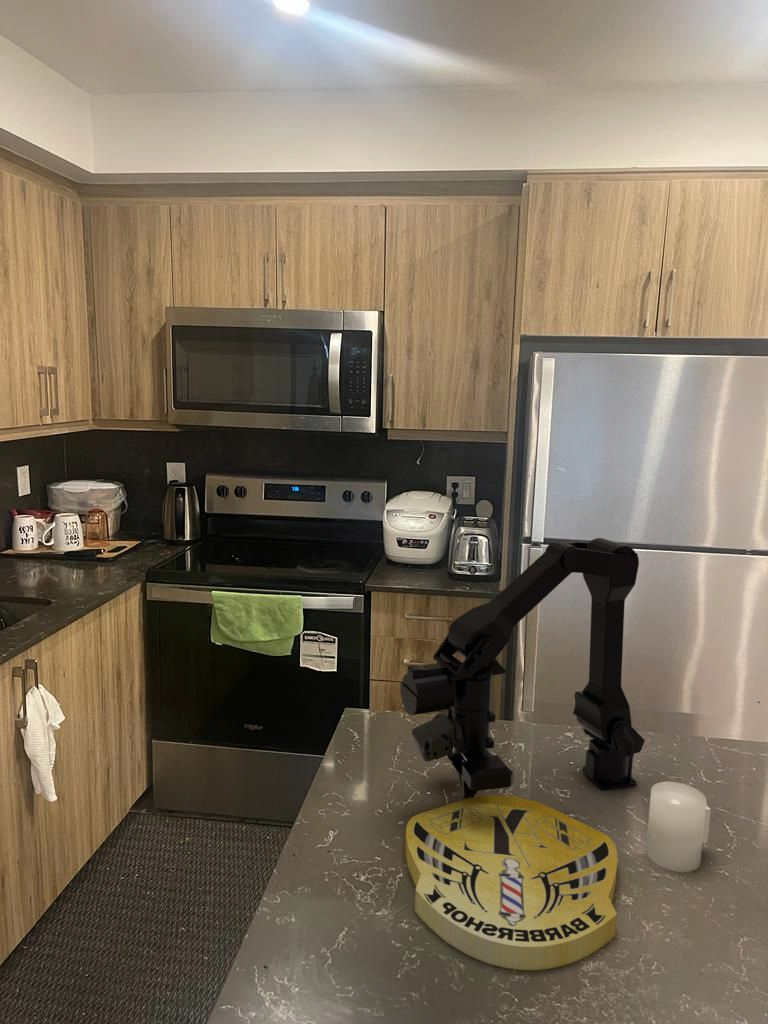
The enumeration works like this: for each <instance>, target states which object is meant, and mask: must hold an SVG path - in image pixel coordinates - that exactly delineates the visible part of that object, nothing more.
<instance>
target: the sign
mask: <svg viewBox="0 0 768 1024" xmlns="http://www.w3.org/2000/svg"><path fill="white" fill-rule="evenodd" d="M404 851H405V859H406V860H405V861H406V865H407V867H408V871H409V873H410V877H411V879H412V881H413V884H414V885H415V897H414V898H415V900H414V911H415V913H416V914H417V915H418V917H419V918H420V919H421V920H422V921H423V923H425V924H426V926H427V927H429V929H431V931H433V932H434V933H435V934H436V935H438V936H439V938H441V939H442V940H444V941H445V942H446V943H447V944H449V945H450V946H452V947H454V948H455V949H457V950H459V951H461V953H464V954H466V955H467V956H469V957H470V958H471V957H472V958H474V959H476V960H478V961H481V962H483V963H486V964H489V965H493V966H496V967H499V968H505V969H509V970H518V971H522V970H523V971H542V970H548V969H554V968H559V967H562V966H567V965H570V964H573V963H575V962H577V961H580V960H582V959H584V958H586V957H588V956H590V955H591V954H593V953H595V952H597V951H599V949H601V948H602V947H604V946H605V945H607V944H608V943H609V942H610V941H612V940H613V938H615V937H616V930H617V917H618V913H617V912H616V909H615V907H614V905H613V899H614V895H615V889H616V883H617V871H618V870H617V869H618V861H619V860H618V857H619V856H618V851H617V847H616V845H615V842H614V841H613V840H612V839H611V837H610V836H608V835H607V834H605V833H604V832H601V831H600V830H597V829H596V828H593V827H591V826H589V825H587V824H585V823H583V822H581V821H579V820H578V819H575V818H572V817H571V816H568V815H566V814H565V813H562V812H561V811H558V810H556V809H554V808H552V807H550V806H548V805H546V804H543V803H540V802H538V801H535V800H532V799H531V800H530V799H526V798H522V797H517V796H510V795H502V794H501V795H500V794H499V795H498V794H496V795H495V794H494V795H493V794H490V795H479V796H474V797H471V798H467V799H464V800H463V799H461V800H458V801H455V802H452V803H449V804H446V805H443V806H440V807H437V808H433V809H430V810H426V811H424V812H420V813H418V814H415V815H414V816H412V817H411V818H410V819H409V820H408V822H407V824H406V827H405V850H404Z"/></svg>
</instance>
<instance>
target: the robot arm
mask: <svg viewBox="0 0 768 1024" xmlns="http://www.w3.org/2000/svg"><path fill="white" fill-rule="evenodd" d="M639 564H640V560H639V556H638V553H637V552H636V551H635V550H634V549H633V548H632V547H630V546H628V545H625V544H622V543H619V542H615V541H613V540H610V539H607V538H604V537H603V538H602V537H597V538H593V539H592V540H590V541H589V542H585V541H569V542H562V541H554V542H551V543H550V544H548V546H546V549H545V551H544V552H543V553H542V554H540V556H539V557H537V559H536V560H534V561H533V563H531V564H530V565H529V566H528V567H527V568H526V569H524V570H523V572H521V573H520V575H518V576H517V577H516V578H515V579H514V580H512V582H510V584H508V586H506V587H505V588H504V589H503V590H502V591H501V592H499V594H498V595H496V596H495V597H494V598H493V599H492V600H490V601H488V602H486V603H484V604H482V605H478V606H475V607H472V608H471V609H469V610H468V611H466V612H465V613H464V614H462V615H460V616H459V617H457V618H456V619H454V620H453V622H452V623H451V624H450V625H449V628H448V633H447V635H446V637H445V638H444V639H443V641H442V642H441V644H440V646H439V647H438V648H437V650H436V651H435V652H434V654H433V656H432V660H433V661H435V662H436V663H430V664H422V665H419V664H412V665H407V673H405V674H404V675H403V677H402V681H401V682H400V683H399V684H400V685H399V686H400V687H399V691H400V698H401V702H402V706H403V708H404V710H405V712H406V714H408V715H409V716H417V715H422V714H429V713H433V712H440V711H444V712H443V713H437V714H436V715H435V716H433V718H432V719H431V720H428V721H426V722H425V723H423V724H420V725H418V726H415V727H414V728H412V730H411V734H412V737H413V740H414V743H415V745H416V749H417V751H418V752H419V753H420V755H421V758H422V760H423V761H425V762H431V761H434V760H440V759H442V758H444V757H447V759H448V761H450V762H451V765H452V766H453V769H454V770H455V772H456V775H457V779H458V785H459V787H460V792H461V797H462V800H464V799H467V798H471V797H476V795H477V793H478V792H480V791H488V790H495V789H496V790H497V789H504V788H510V787H512V785H513V780H514V779H513V778H514V772H513V770H512V769H511V768H510V766H509V765H508V763H507V762H506V761H505V760H504V759H503V758H502V757H501V756H499V754H494V755H493V754H492V752H491V751H490V749H494V748H495V740H493V738H492V737H491V735H490V734H491V733H490V731H491V728H490V727H491V723H493V722H494V723H495V722H496V714H495V713H494V712H493V711H492V693H493V692H492V687H493V676H498V675H505V674H506V673H507V670H506V669H507V668H505V667H504V666H502V664H500V663H499V661H498V659H497V658H498V656H499V655H500V654H501V653H502V652H503V651H504V649H505V648H506V646H507V645H508V644H509V643H510V641H511V640H510V639H511V637H512V634H513V630H514V629H515V628H516V626H517V625H518V624H519V623H520V621H522V620H523V619H524V618H525V617H526V616H527V615H528V614H529V613H530V612H532V611H533V609H535V608H536V607H537V606H538V605H539V604H540V603H541V602H542V601H543V600H544V599H545V598H546V597H548V595H550V593H551V592H553V591H554V590H555V589H556V588H557V587H558V586H559V585H560V584H561V583H563V581H565V579H567V577H569V576H570V575H571V574H572V573H576V574H578V573H579V574H582V577H583V580H584V582H585V585H586V586H587V589H588V592H589V593H590V597H591V598H590V599H591V603H590V604H591V609H590V611H591V612H590V636H589V637H590V638H589V640H590V641H589V662H588V663H589V665H588V667H589V670H588V672H589V673H588V683H587V684H586V685H585V687H584V688H583V690H581V691H575V693H574V703H575V705H574V709H573V712H572V714H573V715H574V716H576V721H577V723H578V724H579V725H580V726H581V727H582V730H583V733H584V735H586V736H588V737H590V738H591V739H589V744H588V745H589V746H588V749H587V750H586V753H585V754H586V755H585V764H584V765H585V766H582V768H581V769H582V772H584V774H585V775H586V776H587V777H588V778H589V779H590V780H591V781H592V782H593V783H594V784H595V785H596V786H597V787H598V788H599V789H601V790H603V791H604V790H610V789H611V790H612V789H618V788H620V789H621V788H627V787H635V786H637V785H638V783H637V782H638V781H636V779H634V778H633V777H632V774H633V761H634V755H635V754H639V753H641V752H642V749H643V746H644V744H645V738H643V736H641V734H640V733H638V731H637V730H636V729H635V728H634V727H633V726H632V723H633V722H632V716H631V706H630V703H629V702H628V699H627V697H626V695H625V692H624V690H623V688H622V674H623V673H622V672H623V670H622V669H623V654H624V653H623V651H624V650H623V649H624V624H625V604H626V603H625V602H626V598H627V597H628V595H629V594H630V593H631V591H632V590H633V589H634V587H635V585H636V581H637V575H638V571H639ZM456 653H457V655H459V656H461V657H462V658H463V659H464V661H463V662H462V661H460V660H459V659H458V658H456V657H455V656H454V655H455V654H456Z"/></svg>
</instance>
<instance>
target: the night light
mask: <svg viewBox="0 0 768 1024" xmlns="http://www.w3.org/2000/svg"><path fill="white" fill-rule="evenodd" d="M707 801H708V800H707V797H706V795H704V794H703V793H702V792H701V791H700V790H698V789H697V788H695V787H694V786H690V785H689V784H685V783H682V782H677V781H676V782H675V781H662V782H657V783H655V784H653V785H652V787H651V789H650V799H649V809H648V810H649V811H648V822H647V832H646V845H645V853H646V855H647V857H648V856H649V857H648V858H649V860H650V861H652V862H653V863H654V862H655V863H654V864H656V865H657V866H659V867H661V868H663V869H665V870H668V871H672V872H677V873H690V872H692V871H696V870H697V869H698V868H699V867H700V865H701V860H702V852H703V851H702V850H703V844H705V843H708V837H709V830H710V821H711V811H712V809H711V808H710V807H709V806H708V804H707Z"/></svg>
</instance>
